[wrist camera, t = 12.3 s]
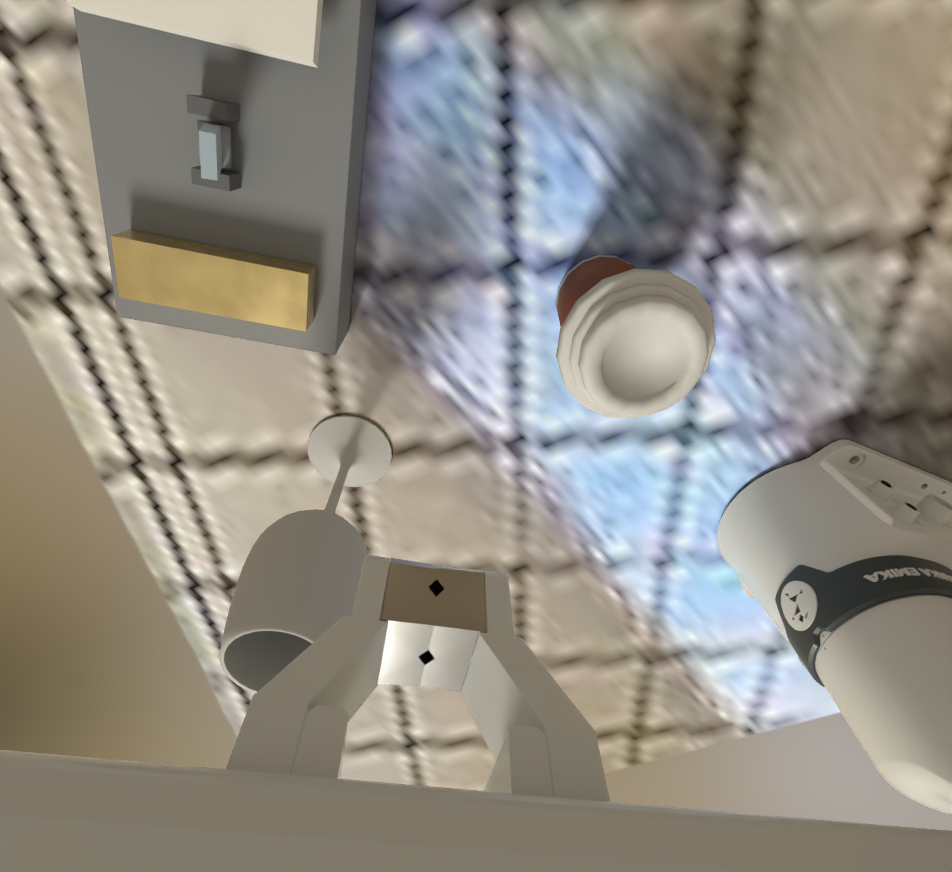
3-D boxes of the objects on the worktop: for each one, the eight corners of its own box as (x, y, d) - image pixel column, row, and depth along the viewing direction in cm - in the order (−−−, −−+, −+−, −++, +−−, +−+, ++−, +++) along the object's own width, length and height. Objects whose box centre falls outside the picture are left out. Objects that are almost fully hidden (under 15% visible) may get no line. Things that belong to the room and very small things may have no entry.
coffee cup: (631, 367, 43) (683, 447, 32) (522, 340, 41) (540, 415, 31) (681, 253, 38) (761, 304, 28) (561, 219, 37) (598, 259, 27)
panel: (382, -67, 29) (361, -113, 23) (348, 329, 41) (329, 365, 35) (110, -141, 28) (15, -210, 22) (155, 294, 39) (101, 325, 33)
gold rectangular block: (316, 265, 33) (308, 274, 32) (313, 320, 35) (306, 331, 33) (129, 229, 32) (110, 235, 30) (136, 288, 34) (119, 297, 32)
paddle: (231, 125, 29) (226, 136, 25) (232, 165, 30) (227, 182, 26) (198, 118, 29) (187, 128, 24) (200, 159, 30) (190, 176, 25)
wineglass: (347, 396, 44) (264, 593, 26) (412, 455, 47) (378, 669, 29) (287, 447, 46) (172, 660, 28) (352, 500, 49) (286, 723, 31)
